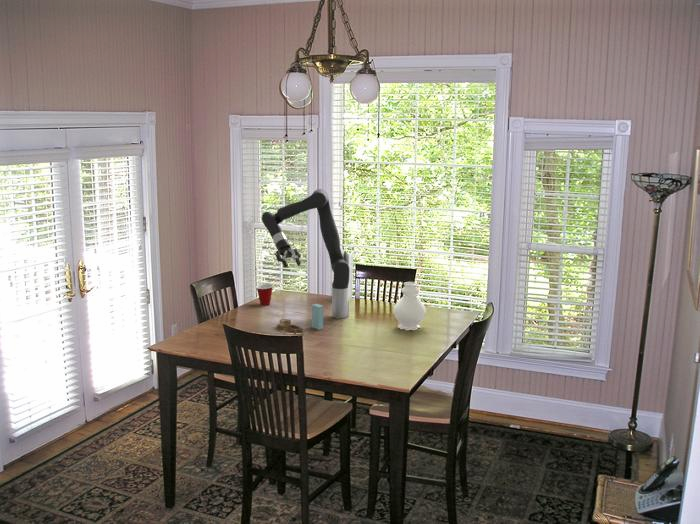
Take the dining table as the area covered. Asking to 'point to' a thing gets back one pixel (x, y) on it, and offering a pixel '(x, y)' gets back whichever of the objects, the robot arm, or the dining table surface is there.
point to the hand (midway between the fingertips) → (293, 265)
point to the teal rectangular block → (317, 316)
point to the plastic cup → (264, 293)
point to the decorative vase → (409, 308)
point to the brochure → (349, 261)
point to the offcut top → (285, 321)
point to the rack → (292, 330)
